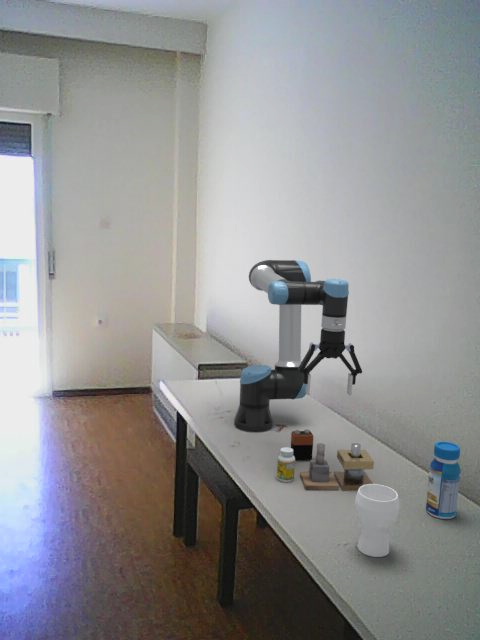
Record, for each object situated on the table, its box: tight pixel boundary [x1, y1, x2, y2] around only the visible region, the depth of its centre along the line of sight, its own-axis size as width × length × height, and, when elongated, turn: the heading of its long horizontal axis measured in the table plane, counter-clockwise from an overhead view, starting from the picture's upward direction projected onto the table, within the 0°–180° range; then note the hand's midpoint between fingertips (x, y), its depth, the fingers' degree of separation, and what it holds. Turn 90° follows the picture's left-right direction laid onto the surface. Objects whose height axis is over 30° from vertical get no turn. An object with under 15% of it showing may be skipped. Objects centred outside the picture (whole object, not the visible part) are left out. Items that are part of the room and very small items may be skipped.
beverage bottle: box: [425, 441, 462, 520], centre depth 166 cm, size 8×8×20 cm
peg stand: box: [333, 442, 374, 491], centre depth 183 cm, size 10×10×12 cm
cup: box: [354, 483, 400, 558], centre depth 146 cm, size 11×11×15 cm
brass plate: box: [336, 449, 375, 470], centre depth 183 cm, size 9×9×2 cm
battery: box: [290, 428, 314, 462], centre depth 201 cm, size 4×7×10 cm, turn 97°
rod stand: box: [299, 442, 340, 491], centre depth 182 cm, size 10×10×12 cm
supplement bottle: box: [276, 446, 296, 483], centre depth 185 cm, size 5×5×10 cm
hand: (328, 393), depth 190 cm, fingers open, 13 cm apart
